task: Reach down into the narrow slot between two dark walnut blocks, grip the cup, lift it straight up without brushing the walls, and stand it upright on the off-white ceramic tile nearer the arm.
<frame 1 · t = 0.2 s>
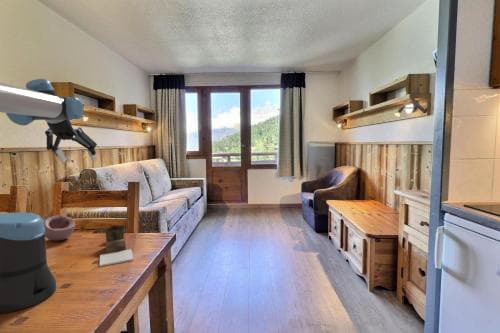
hand: (79, 160, 121), 35 cm above the table, tool tilted 35°, fingers open, 13 cm apart
pink bowl: (59, 240, 121), on the table
cup: (115, 246, 114), on the table
walnut slot holder: (115, 245, 114), on the table
ceramic tile: (116, 258, 101), on the table
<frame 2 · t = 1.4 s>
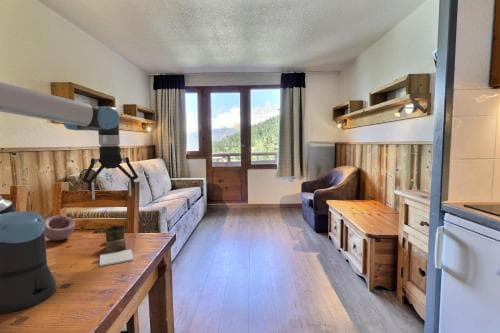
hand: (112, 197, 112), 21 cm above the table, tool pointing down, fingers open, 13 cm apart
nothing on the table moved.
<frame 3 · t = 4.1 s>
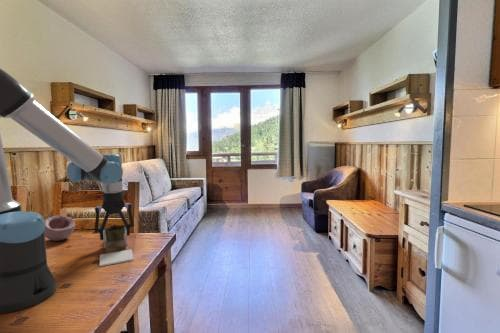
hand: (115, 245, 114), 0 cm above the table, tool pointing down, fingers closed on cup, 7 cm apart
cup: (115, 246, 114), on the table, touching gripper
everything else where it was.
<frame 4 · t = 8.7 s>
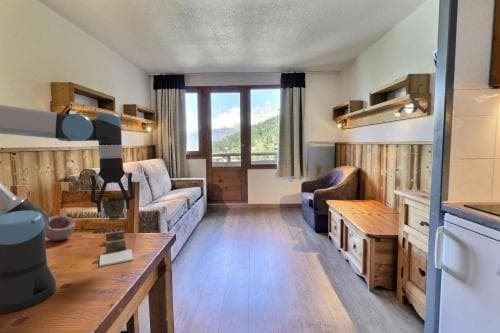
hand: (114, 219, 100), 15 cm above the table, tool pointing down, fingers closed on cup, 7 cm apart
cup: (114, 220, 100), point 15 cm above the table, touching gripper
everything else where it was.
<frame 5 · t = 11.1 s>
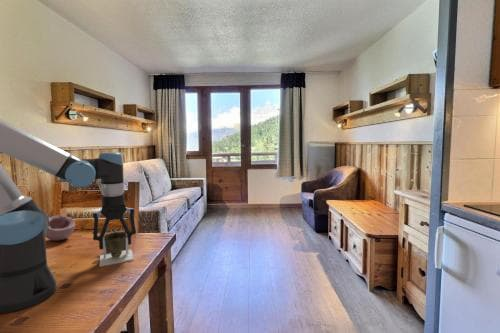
hand: (116, 254, 101), 1 cm above the table, tool pointing down, fingers closed on cup, 7 cm apart
cup: (116, 256, 101), point 1 cm above the table, touching gripper
everything else where it was.
when the fingers open (1 cm above the table, at t = 12.1 s): cup moves 3 cm, resting on ceramic tile.
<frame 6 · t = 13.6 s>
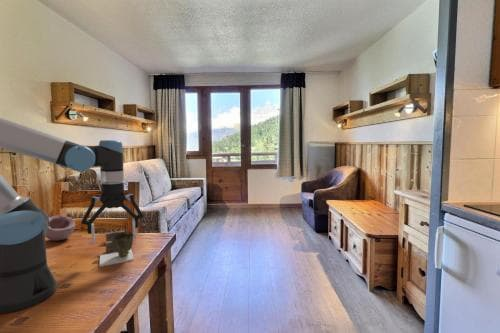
hand: (114, 239, 100), 7 cm above the table, tool pointing down, fingers open, 13 cm apart
cup: (123, 255, 102), resting on ceramic tile
everything else where it was.
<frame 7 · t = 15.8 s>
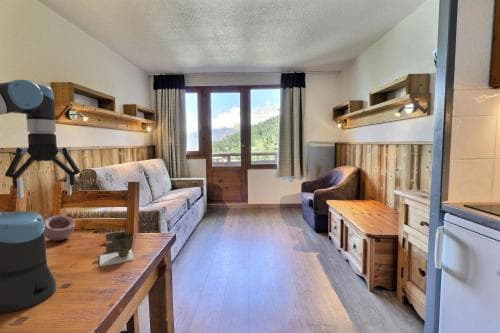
hand: (46, 196, 92), 25 cm above the table, tool pointing down, fingers open, 13 cm apart
nothing on the table moved.
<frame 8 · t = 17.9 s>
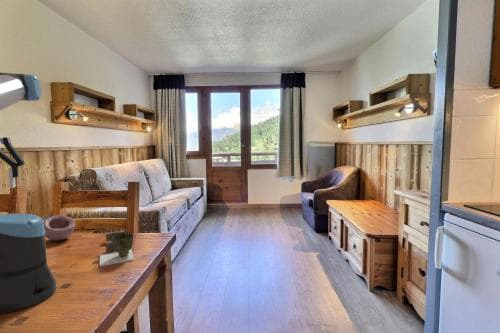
nothing on the table moved.
at the end: cup 2.5 cm off-centre on the ceramic tile, point 0.4 cm above the ceramic tile's base; cup tilted 0°; the gripper is holding nothing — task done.
